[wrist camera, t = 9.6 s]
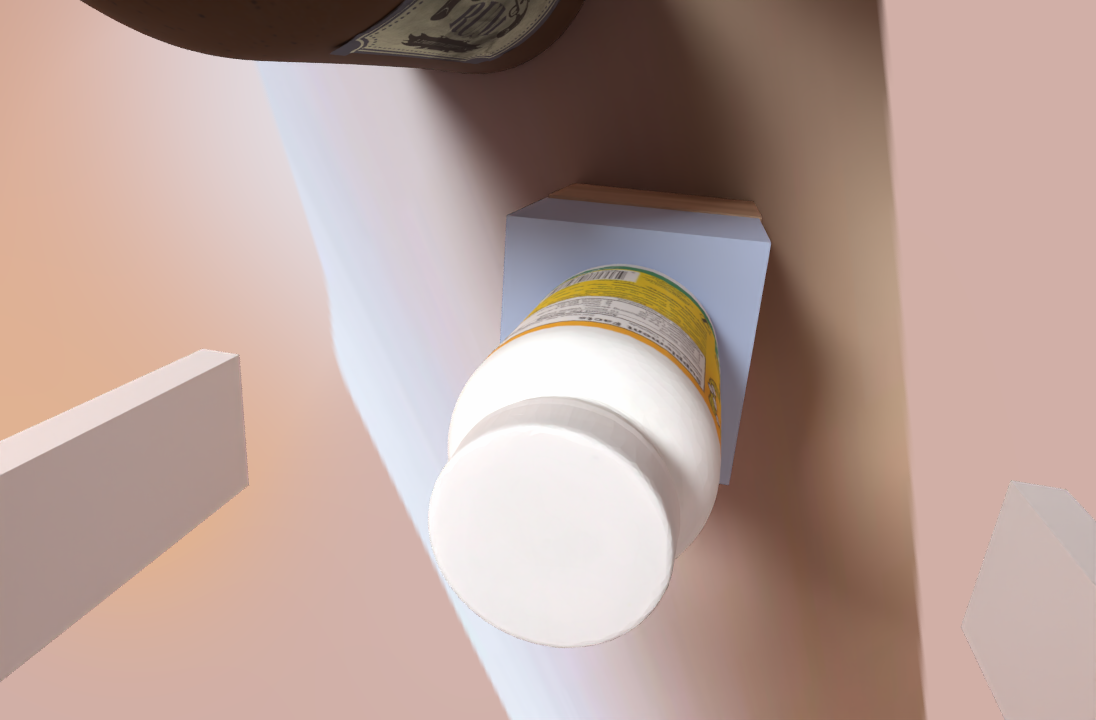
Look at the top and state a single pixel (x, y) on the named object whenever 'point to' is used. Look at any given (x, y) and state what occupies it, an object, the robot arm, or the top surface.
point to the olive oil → (355, 30)
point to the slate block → (657, 243)
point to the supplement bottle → (582, 459)
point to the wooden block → (657, 200)
